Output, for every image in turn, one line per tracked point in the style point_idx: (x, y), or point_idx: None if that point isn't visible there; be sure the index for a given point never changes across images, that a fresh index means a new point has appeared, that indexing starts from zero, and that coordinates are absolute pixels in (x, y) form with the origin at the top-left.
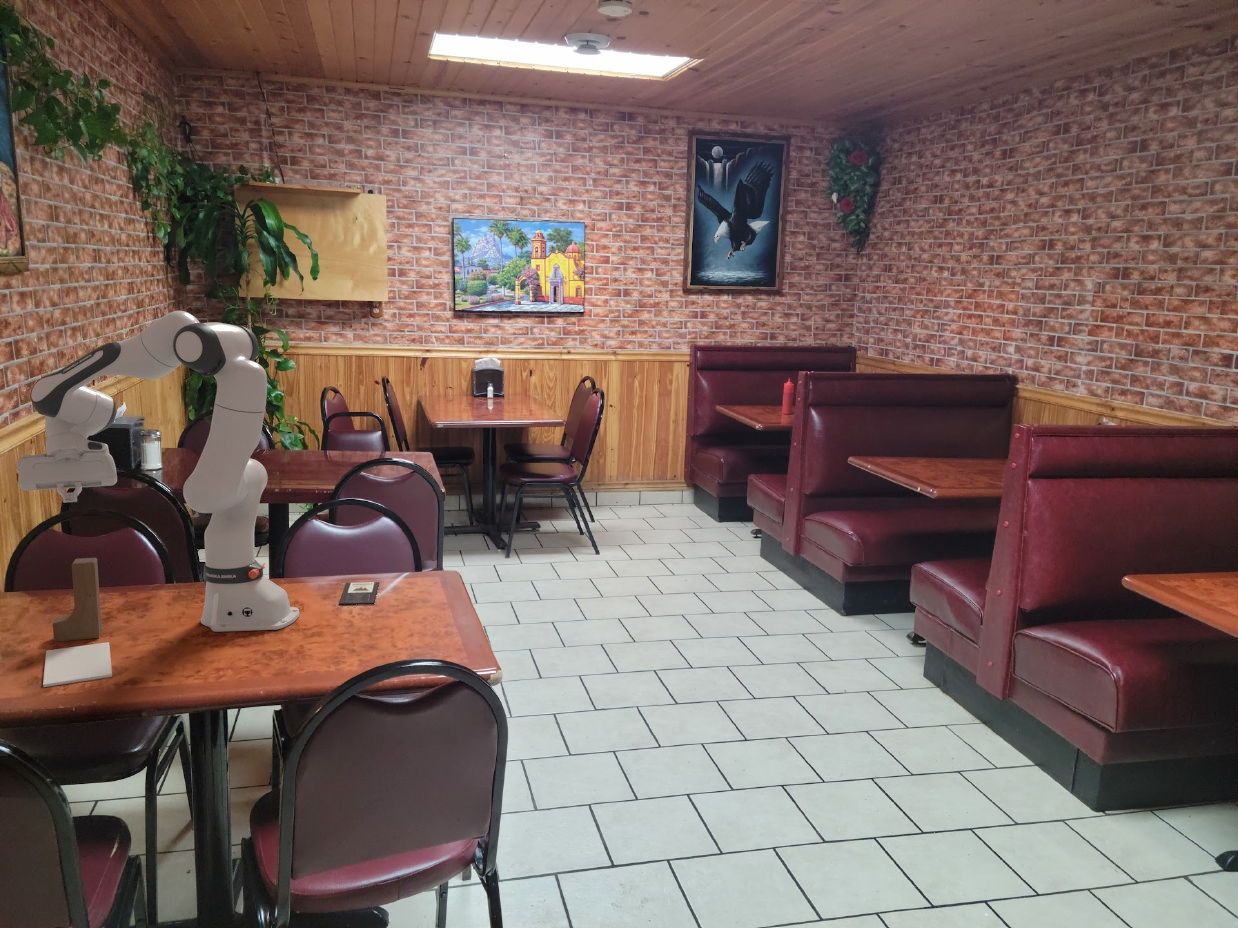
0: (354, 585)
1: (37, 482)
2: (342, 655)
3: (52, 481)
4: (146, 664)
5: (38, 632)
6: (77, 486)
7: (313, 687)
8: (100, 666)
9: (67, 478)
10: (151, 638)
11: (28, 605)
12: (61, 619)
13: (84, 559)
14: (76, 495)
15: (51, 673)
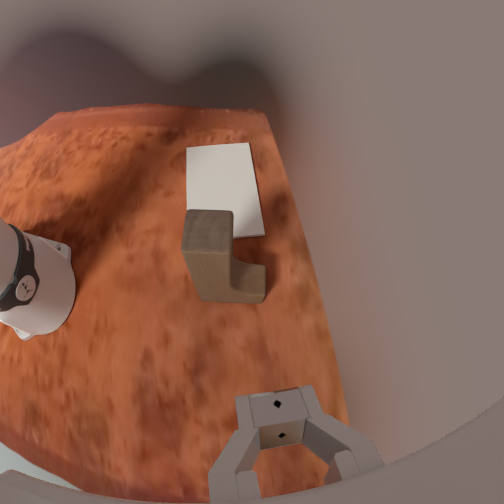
0: None
1: (479, 414)
2: (19, 159)
3: (415, 452)
4: (152, 169)
5: (293, 329)
6: (236, 466)
7: (63, 112)
8: (197, 167)
9: (322, 500)
10: (137, 249)
11: None
12: (254, 273)
13: (207, 237)
14: (237, 406)
15: (245, 163)
